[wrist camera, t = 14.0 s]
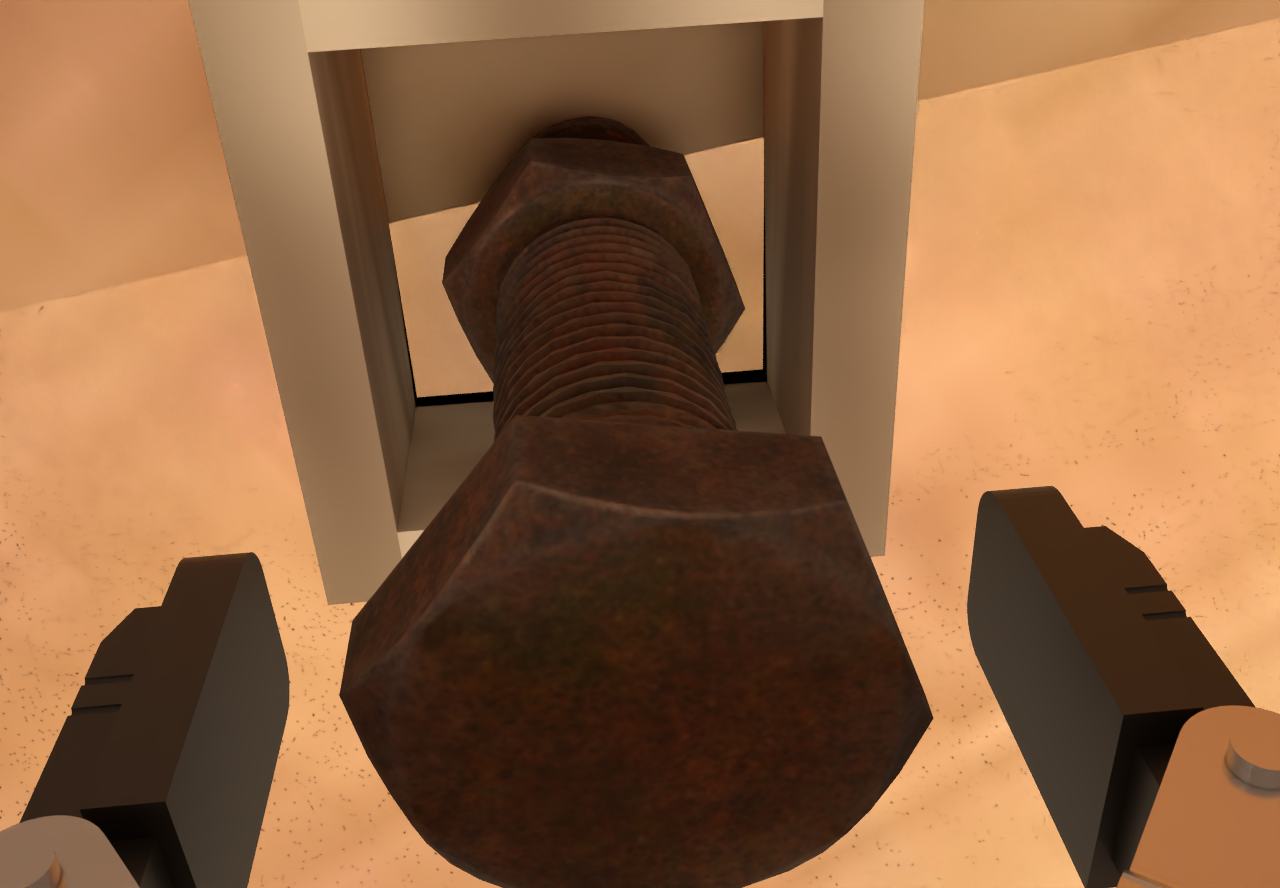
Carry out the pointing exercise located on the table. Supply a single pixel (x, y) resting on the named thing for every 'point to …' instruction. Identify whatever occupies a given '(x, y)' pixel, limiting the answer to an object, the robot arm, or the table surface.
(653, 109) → the table surface
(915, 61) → the socket block
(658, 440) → the bolt
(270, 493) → the table surface
